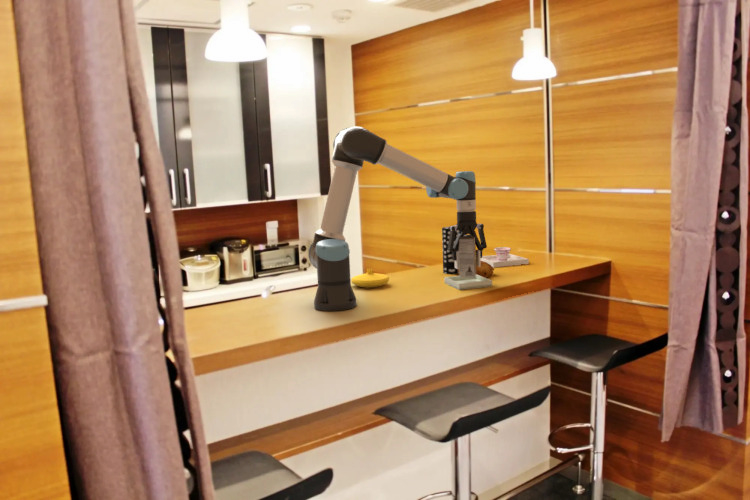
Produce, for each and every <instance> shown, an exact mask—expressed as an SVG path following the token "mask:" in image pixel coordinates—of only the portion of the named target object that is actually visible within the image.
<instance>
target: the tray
mask: <svg viewBox="0 0 750 500" xmlns="http://www.w3.org/2000/svg"><path fill="white" fill-rule="evenodd" d="M444 284H446V285H448V286H450V287H452V288H454V289H456V290H458V291H463V290H464V291H465V290H472V289H482V287H483V288H491V287H490V286H492V287H493V280H492V279H490V278H488V277H486V278H485V277H482V276H479V275H477V274H476V276H475V278H460V277H459V275H454V276H445V277H444Z"/></svg>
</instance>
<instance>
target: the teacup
mask: <svg viewBox="0 0 750 500" xmlns="http://www.w3.org/2000/svg"><path fill="white" fill-rule="evenodd" d="M493 251H494V252H495V253H496V254H495V255H497V258H495V259H491V260H490V261H493V262H498V261H508V260H515V259H512V258H508V254H510V251H511V248H510V247H508V246H507V247H506V246H501V247H500V246H499V247H494V250H493Z"/></svg>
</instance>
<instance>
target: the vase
mask: <svg viewBox="0 0 750 500" xmlns="http://www.w3.org/2000/svg"><path fill="white" fill-rule="evenodd" d="M350 281H351V284H353V285H355V286H357V287H360V288H377V287H382V286H384V285H385V284H387V283H388V282H389V281H390V277H389V276H388V275H386V274H383V273H375V272H373V268H367V269H366V273H361V274H358V275H357V274H356V275H354V276H353V277H352V278H350Z"/></svg>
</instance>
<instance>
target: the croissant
mask: <svg viewBox="0 0 750 500" xmlns="http://www.w3.org/2000/svg"><path fill="white" fill-rule="evenodd" d="M494 270H495V267H492V266H491V265H490V264H488V263H486V262H483V261H481V267H478V266H476V274H477V275H479V276H482V277H485V278H489V277H492V276H493V275H494ZM458 273H459V269H458Z"/></svg>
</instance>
